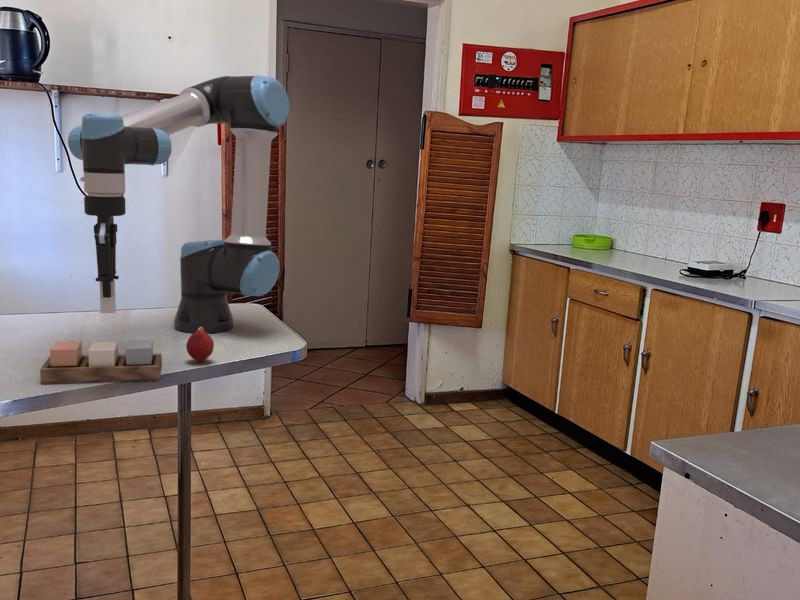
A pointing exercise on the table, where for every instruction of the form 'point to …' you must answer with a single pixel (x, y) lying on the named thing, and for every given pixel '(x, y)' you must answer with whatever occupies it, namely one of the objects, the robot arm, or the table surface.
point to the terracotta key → (66, 353)
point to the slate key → (139, 352)
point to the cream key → (103, 354)
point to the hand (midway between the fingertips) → (108, 312)
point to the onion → (200, 345)
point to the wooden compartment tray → (101, 372)
